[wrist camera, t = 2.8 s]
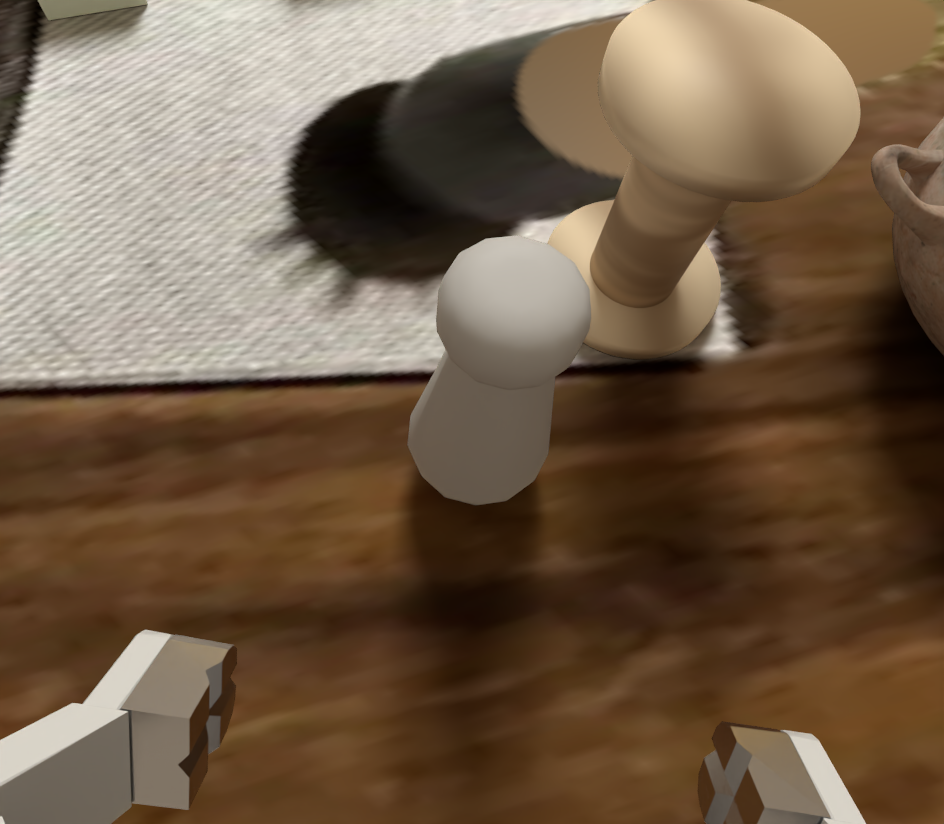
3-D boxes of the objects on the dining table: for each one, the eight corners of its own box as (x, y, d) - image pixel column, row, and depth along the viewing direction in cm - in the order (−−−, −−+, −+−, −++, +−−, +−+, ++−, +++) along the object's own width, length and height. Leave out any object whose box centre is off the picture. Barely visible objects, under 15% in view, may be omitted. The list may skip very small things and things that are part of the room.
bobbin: (587, 382, 31) (686, 208, 20) (512, 237, 34) (562, 17, 23) (744, 329, 33) (912, 145, 22) (660, 196, 36) (770, -24, 25)
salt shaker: (458, 545, 27) (497, 427, 15) (382, 440, 29) (364, 259, 17) (564, 469, 29) (672, 311, 17) (487, 374, 30) (537, 169, 19)
